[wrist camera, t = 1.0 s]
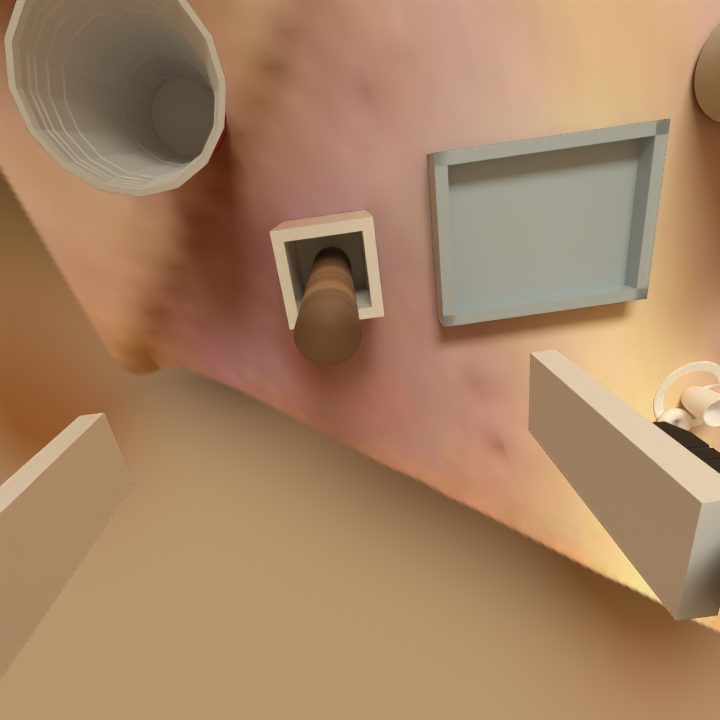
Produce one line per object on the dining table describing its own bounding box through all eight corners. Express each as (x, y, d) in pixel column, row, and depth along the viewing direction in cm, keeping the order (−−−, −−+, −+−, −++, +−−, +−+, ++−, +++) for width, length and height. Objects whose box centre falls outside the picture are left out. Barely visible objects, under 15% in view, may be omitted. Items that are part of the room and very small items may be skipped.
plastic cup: (290, 113, 33) (266, 78, 22) (207, 221, 36) (149, 238, 25) (169, -9, 30) (70, -121, 19) (88, 120, 33) (-39, 88, 22)
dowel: (310, 249, 36) (287, 306, 20) (347, 244, 36) (356, 296, 20) (316, 286, 38) (300, 369, 21) (352, 281, 38) (365, 360, 21)
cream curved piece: (656, 442, 47) (684, 465, 44) (632, 390, 45) (659, 409, 41) (734, 402, 46) (770, 422, 42) (714, 345, 43) (750, 360, 39)
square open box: (283, 221, 36) (269, 231, 29) (365, 209, 36) (372, 216, 29) (298, 301, 39) (289, 329, 31) (375, 290, 39) (384, 316, 31)
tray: (427, 154, 35) (433, 152, 32) (648, 122, 35) (670, 118, 32) (437, 318, 40) (443, 327, 38) (628, 291, 40) (646, 298, 38)
